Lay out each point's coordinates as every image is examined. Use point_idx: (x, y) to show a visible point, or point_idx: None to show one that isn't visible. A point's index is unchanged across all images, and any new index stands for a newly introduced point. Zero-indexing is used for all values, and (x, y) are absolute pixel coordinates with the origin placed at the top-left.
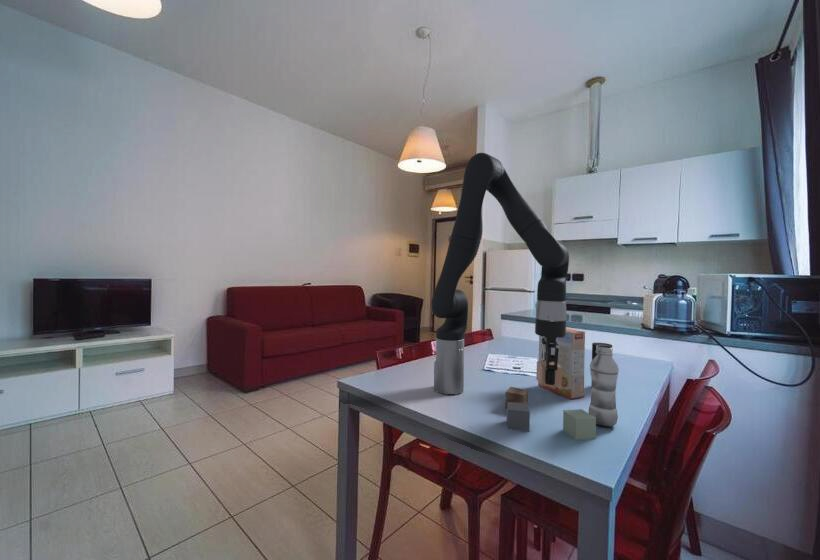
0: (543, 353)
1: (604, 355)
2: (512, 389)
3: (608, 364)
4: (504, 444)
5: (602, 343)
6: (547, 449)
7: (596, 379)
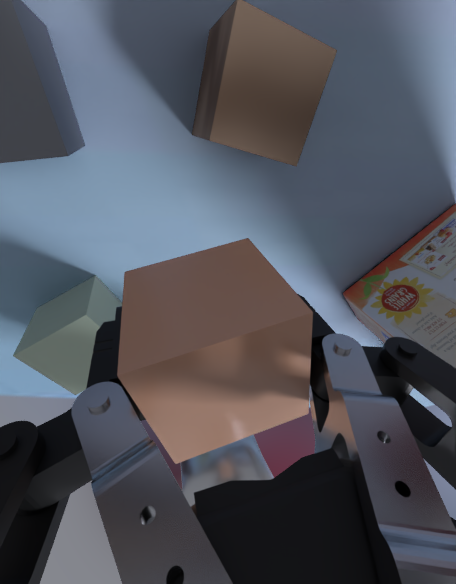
0: (160, 551)
1: None
2: (288, 62)
3: None
4: None
5: None
6: None
7: (197, 481)
